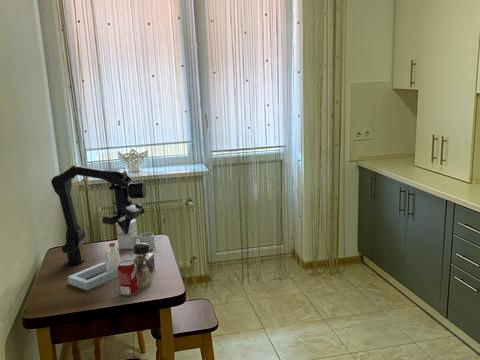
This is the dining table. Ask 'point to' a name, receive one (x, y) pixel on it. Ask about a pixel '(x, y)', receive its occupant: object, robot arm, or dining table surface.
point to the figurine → (142, 271)
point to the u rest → (81, 277)
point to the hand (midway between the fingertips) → (126, 234)
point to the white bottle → (113, 257)
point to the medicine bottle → (142, 249)
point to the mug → (146, 239)
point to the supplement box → (127, 236)
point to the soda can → (128, 277)
